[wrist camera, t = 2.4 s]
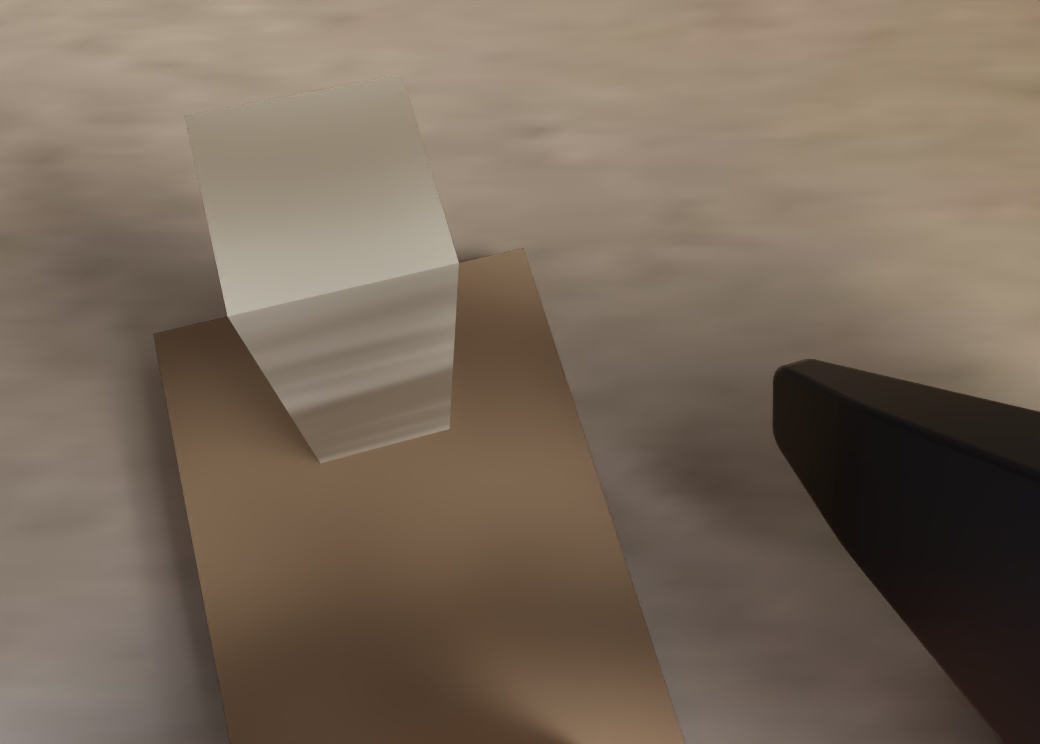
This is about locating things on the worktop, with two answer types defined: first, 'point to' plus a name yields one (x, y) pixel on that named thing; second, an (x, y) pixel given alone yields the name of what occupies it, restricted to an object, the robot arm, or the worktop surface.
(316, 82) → the worktop surface
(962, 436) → the robot arm
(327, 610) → the wooden base with post
